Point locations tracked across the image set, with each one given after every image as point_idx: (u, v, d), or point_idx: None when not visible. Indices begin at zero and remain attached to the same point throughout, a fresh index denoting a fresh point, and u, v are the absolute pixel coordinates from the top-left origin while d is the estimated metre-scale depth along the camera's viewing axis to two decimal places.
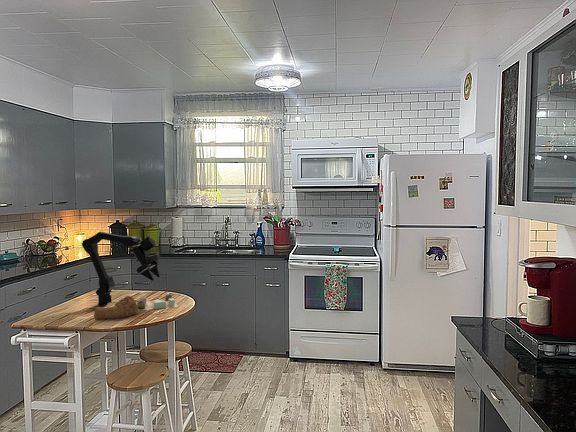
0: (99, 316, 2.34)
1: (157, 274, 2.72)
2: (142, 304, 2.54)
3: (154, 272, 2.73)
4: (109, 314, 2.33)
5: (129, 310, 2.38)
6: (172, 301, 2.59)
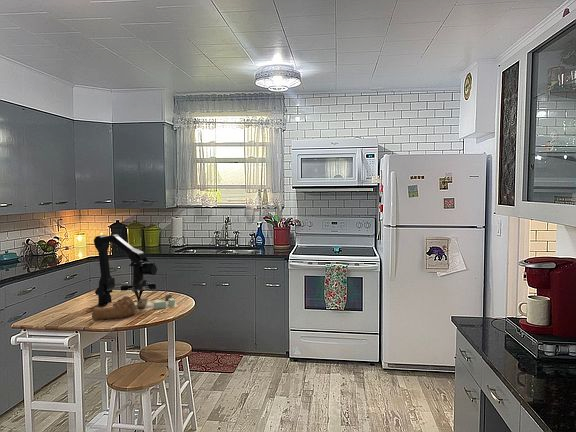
0: (97, 316, 2.33)
1: None
2: (142, 304, 2.53)
3: (139, 294, 2.65)
4: (107, 314, 2.33)
5: (127, 310, 2.38)
6: (172, 301, 2.59)
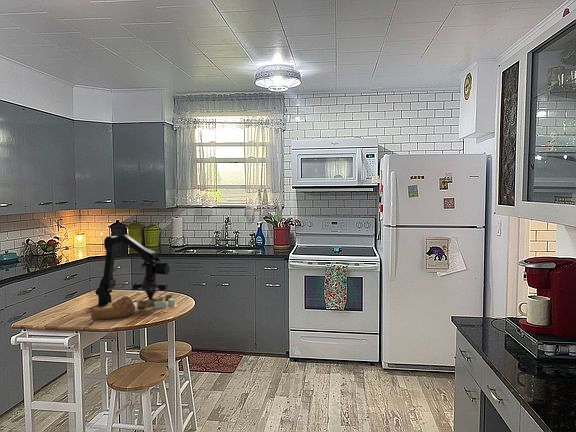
0: (96, 316, 2.33)
1: None
2: (139, 304, 2.53)
3: None
4: (106, 314, 2.33)
5: (126, 310, 2.38)
6: (172, 301, 2.59)
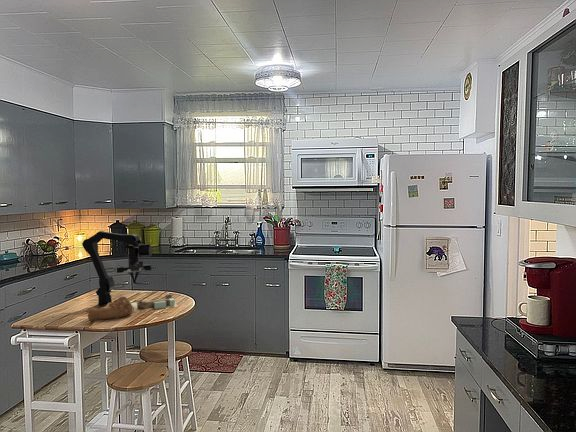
0: (93, 317, 2.33)
1: None
2: (138, 304, 2.53)
3: (134, 276, 2.71)
4: (103, 315, 2.32)
5: (123, 310, 2.37)
6: (172, 301, 2.59)
